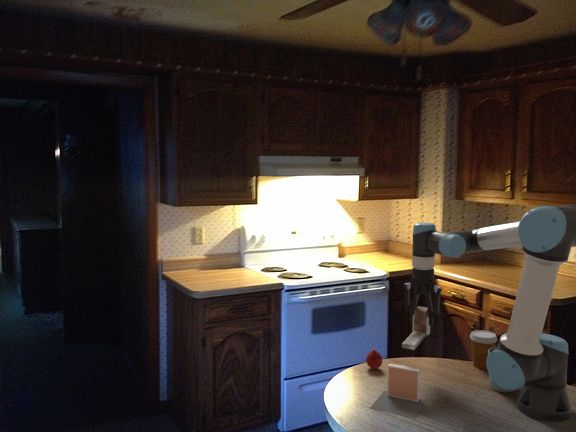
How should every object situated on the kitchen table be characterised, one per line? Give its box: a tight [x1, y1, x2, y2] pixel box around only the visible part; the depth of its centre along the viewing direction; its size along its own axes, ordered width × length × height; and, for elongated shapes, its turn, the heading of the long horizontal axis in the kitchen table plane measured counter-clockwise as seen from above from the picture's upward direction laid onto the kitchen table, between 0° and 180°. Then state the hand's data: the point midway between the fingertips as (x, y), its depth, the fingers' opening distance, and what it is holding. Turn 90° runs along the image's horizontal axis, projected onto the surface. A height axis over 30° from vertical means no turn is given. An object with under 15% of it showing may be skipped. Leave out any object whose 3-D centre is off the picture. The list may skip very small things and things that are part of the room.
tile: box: [386, 363, 421, 402], centre depth 176 cm, size 10×2×10 cm, turn 62°
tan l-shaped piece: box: [401, 305, 429, 351], centre depth 187 cm, size 4×19×9 cm, turn 152°
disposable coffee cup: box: [469, 329, 498, 370], centre depth 203 cm, size 10×10×12 cm
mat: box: [369, 390, 428, 419], centre depth 172 cm, size 14×14×1 cm
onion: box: [365, 348, 383, 371], centre depth 199 cm, size 6×6×8 cm
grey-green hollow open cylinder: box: [488, 346, 517, 393], centre depth 185 cm, size 10×10×12 cm
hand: (421, 332), depth 194 cm, fingers closed on tan l-shaped piece, 4 cm apart
